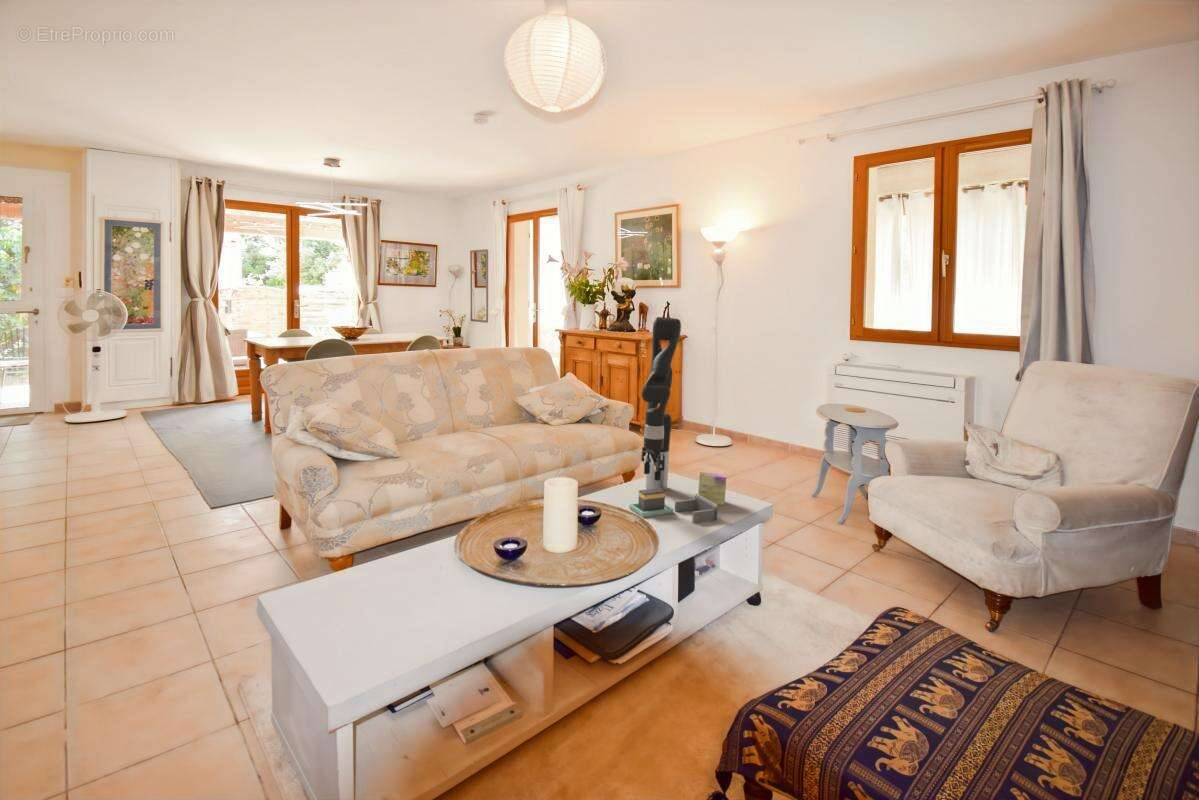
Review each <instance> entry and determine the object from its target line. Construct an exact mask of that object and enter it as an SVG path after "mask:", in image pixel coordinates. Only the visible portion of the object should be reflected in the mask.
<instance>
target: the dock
mask: <svg viewBox="0 0 1199 800" xmlns="http://www.w3.org/2000/svg"><path fill="white" fill-rule="evenodd" d="M718 506H719V505H717V504H715V503H713V502H711V501H709V500H707V499H705V498H704V497H702V496H700V495H698V493H696V494H695V496H694V497H693V498H691V499H690V498H689V499H688V498H687V499H681V500H675V501H674V512H676V513H678V512H686V511H692V523H693V524H697V523H704V522H710V521H711V522H712V521H717V520H718ZM695 510H696V511H695Z"/></svg>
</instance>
